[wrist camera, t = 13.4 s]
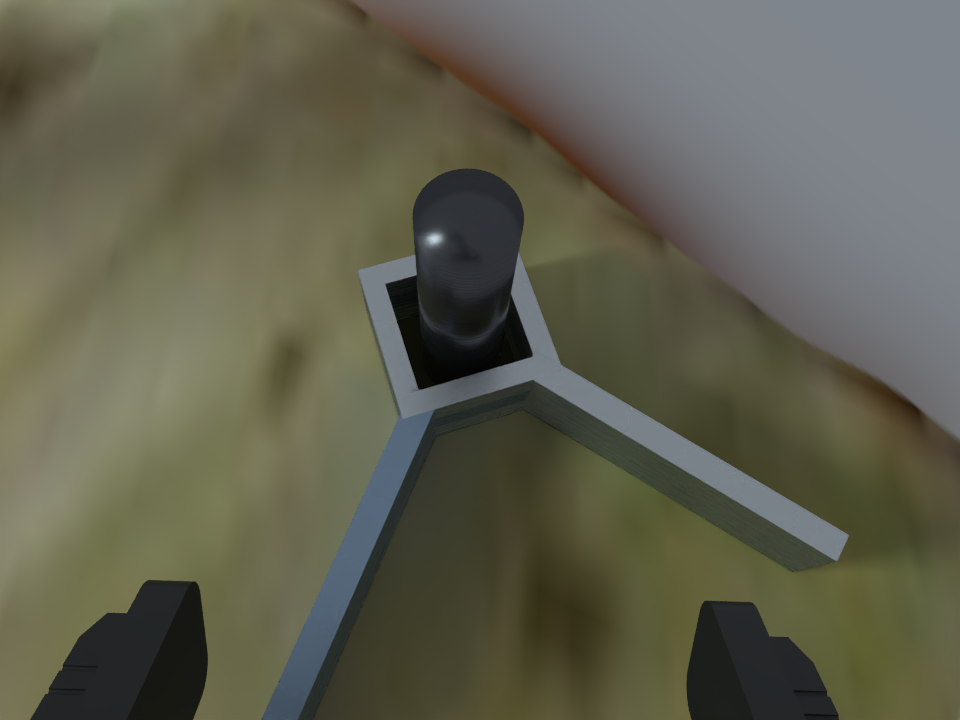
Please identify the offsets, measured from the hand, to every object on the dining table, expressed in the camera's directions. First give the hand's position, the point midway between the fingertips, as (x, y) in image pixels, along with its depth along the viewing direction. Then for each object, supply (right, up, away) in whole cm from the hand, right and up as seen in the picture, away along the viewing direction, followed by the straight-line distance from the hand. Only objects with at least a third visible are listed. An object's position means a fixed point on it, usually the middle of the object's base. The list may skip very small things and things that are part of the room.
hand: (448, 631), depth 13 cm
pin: (0, +4, +19) cm, 20 cm away
